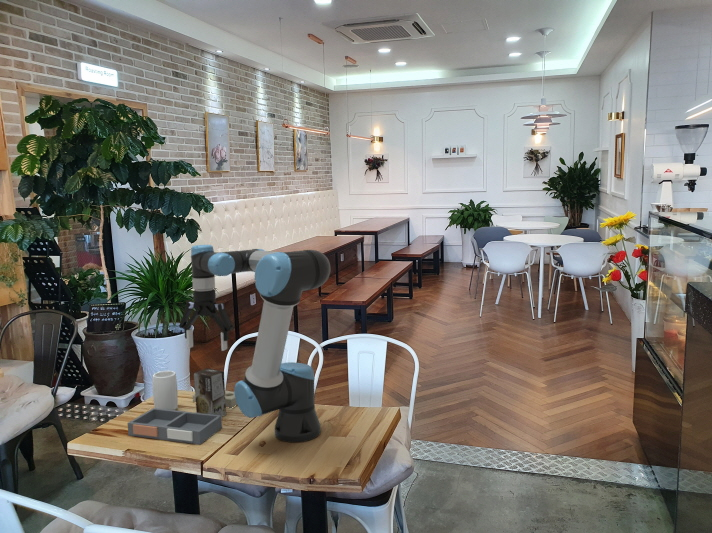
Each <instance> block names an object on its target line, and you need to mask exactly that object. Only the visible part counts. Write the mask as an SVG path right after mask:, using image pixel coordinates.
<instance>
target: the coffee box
mask: <svg viewBox="0 0 712 533" xmlns="http://www.w3.org/2000/svg"><path fill="white" fill-rule="evenodd" d="M193 380H194V381H193V382H194V394H195V398H196V403H195V409H196V411H195V413H203V414H212V415H221V416H222V417H225V416H226V415H227V408H226V403H225V391H226V387H225V371H223V370H220V369H219V370H218V369H214V368H210V367H209V368H208V367H206V368H204V369H200V370H198V371H195V372H194V373H193ZM224 415H225V416H224Z"/></svg>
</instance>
